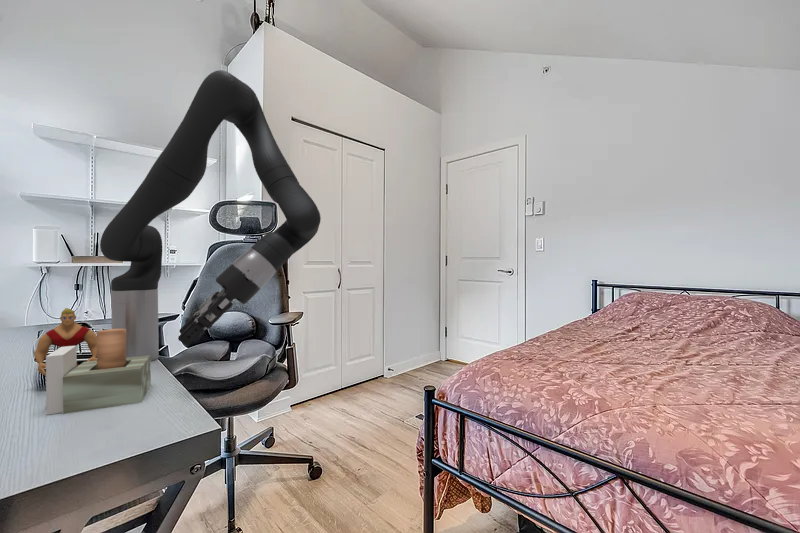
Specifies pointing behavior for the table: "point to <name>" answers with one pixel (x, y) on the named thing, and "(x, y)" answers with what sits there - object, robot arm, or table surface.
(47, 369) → the backstop wall
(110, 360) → the dowel
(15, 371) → the table surface
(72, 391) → the socket block
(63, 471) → the table surface
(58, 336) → the action figure
